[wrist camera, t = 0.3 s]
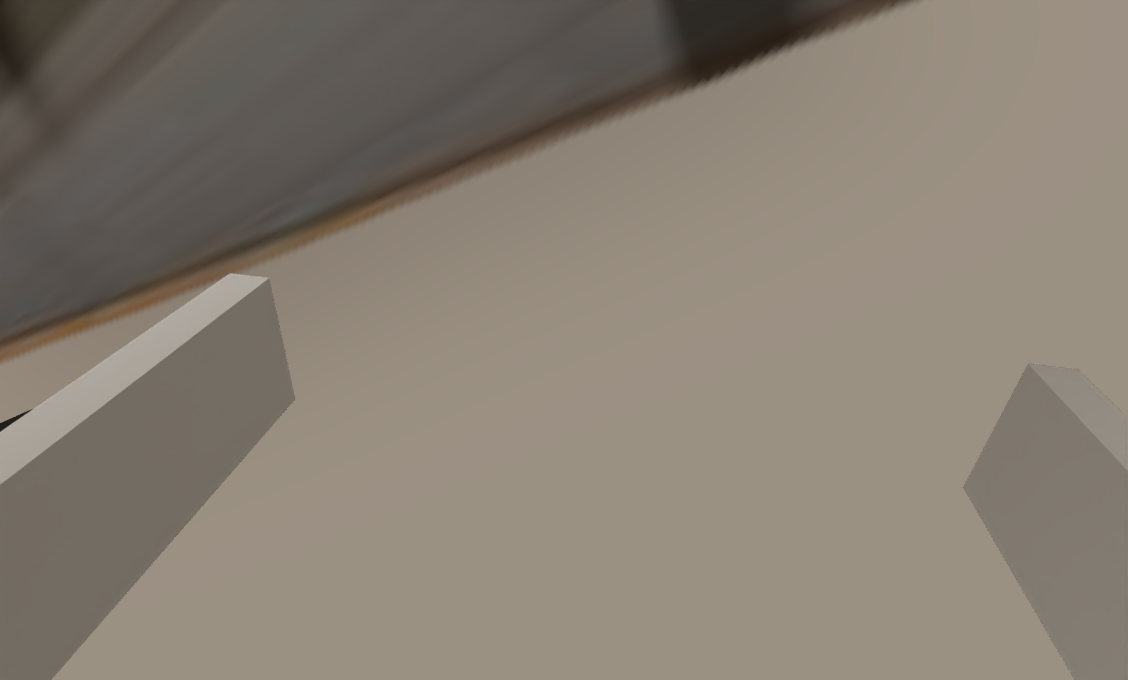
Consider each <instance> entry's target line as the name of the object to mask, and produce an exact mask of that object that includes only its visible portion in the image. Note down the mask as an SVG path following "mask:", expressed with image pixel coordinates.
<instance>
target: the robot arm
mask: <svg viewBox="0 0 1128 680" xmlns="http://www.w3.org/2000/svg"><path fill="white" fill-rule="evenodd" d="M294 400H295V396H294V391H293V387H292V382H291V377H290V373H289V368H288V363H287V359H286V354H285V349H284V345H283V340H282V335H281V331H280V326H279V321H278V317H277V313H276V308H275V303H274V298H273V293H272V289H271V284H270V279H269V278H265V277H257V276H248V275H239V274H228V275H227V276H226V277H224V278H223V279H221V280H220V281H218V282H217V283H215V284H214V285H213V286H211V287H210V288H208V289H207V290H205V291H204V292H202V293H201V294H199V295H198V296H197V297H195V298H194V299H192V300H191V301H189V302H188V303H186V304H185V305H184V306H182V307H181V308H179V309H178V310H176V311H175V312H173V313H172V314H171V315H169V316H168V317H166V318H165V319H163V320H162V321H160V322H159V323H157V324H156V325H155V326H153V327H152V328H150V329H149V330H147V331H146V332H144V333H143V334H142V335H140V336H139V337H137V338H136V339H134V340H133V341H131V342H130V343H128V344H127V345H125V346H124V347H123V348H121V349H120V350H118V351H117V352H115V353H114V354H112V355H111V356H110V357H108V358H107V359H105V360H104V361H102V362H101V363H99V364H98V365H97V366H95V367H94V368H92V369H91V370H89V371H88V372H86V373H85V374H84V375H82V376H81V377H79V378H78V379H76V380H75V381H73V382H72V383H70V384H69V385H67V386H66V387H65V388H63V389H62V390H60V391H59V392H58V393H56V394H55V395H53V396H51V397H50V398H49V399H47V400H46V401H44V402H43V403H41V404H40V405H38V406H37V407H36V408H34V409H31V410H29V411H27V412H25V413H22V414H20V415H18V416H16V417H13V418H11V419H9V420H7V421H4V422H2V423H0V680H51V679H52V678H53V677H54V676H55V675H56V674H57V672H58V671H59V670H60V669H61V668H62V667H63V666H64V665H65V663H66V662H67V661H68V660H69V659H70V658H71V656H72V655H73V654H74V653H75V652H76V651H77V649H78V648H79V647H80V646H81V645H82V644H83V643H84V641H85V640H86V639H87V638H88V637H89V636H90V634H91V633H92V632H93V631H94V630H95V629H96V628H97V627H98V625H99V624H100V623H101V622H102V621H103V620H104V618H105V617H106V616H107V615H108V614H109V612H111V610H112V609H113V608H114V607H115V606H116V605H117V604H118V602H119V601H120V600H121V599H122V598H123V597H124V595H125V594H126V593H127V592H128V591H129V590H130V589H131V587H132V586H133V585H134V584H135V583H136V582H137V581H138V579H139V578H140V577H141V576H142V575H143V574H144V573H145V571H146V570H147V569H148V568H149V567H150V566H151V564H152V563H153V562H154V561H155V560H156V559H157V558H158V556H159V555H160V554H161V553H162V552H163V551H164V550H165V548H166V547H167V546H168V545H169V544H170V543H171V541H172V540H173V539H174V538H175V537H176V536H177V535H178V533H179V532H180V531H181V530H182V529H183V528H184V526H185V525H186V524H187V523H188V522H189V521H190V520H191V518H192V517H193V516H194V515H195V514H196V513H197V511H198V510H199V509H200V508H201V507H202V506H203V505H204V504H205V502H206V501H207V500H208V499H209V498H210V497H211V495H212V494H213V493H214V492H215V491H216V490H217V489H218V487H219V486H220V485H221V484H222V483H223V482H224V481H225V479H226V478H227V477H228V476H229V475H230V474H231V472H232V471H233V470H234V469H235V468H236V467H237V466H238V464H239V463H240V462H241V461H242V460H243V459H244V457H245V456H246V455H247V454H248V453H249V452H250V451H251V449H252V448H253V447H254V446H255V445H256V444H257V443H258V441H259V440H260V439H261V438H262V437H263V435H265V433H266V432H267V431H268V430H269V428H270V427H271V426H272V425H273V424H274V423H275V422H276V421H277V419H278V418H279V417H280V416H281V415H282V413H284V411H285V410H286V409H287V408H288V407H289V405H291V403H292V402H293V401H294ZM964 490H965V491H966V493H967V495H968V497H969V498H970V500H971V502H972V503H973V505H974V507H975V509H976V510H977V512H978V514H979V516H980V517H981V519H982V521H983V522H984V524H985V526H986V528H987V529H988V531H989V533H990V534H991V536H992V538H993V540H994V542H995V543H996V545H997V547H998V548H999V550H1000V552H1001V554H1002V555H1003V557H1004V559H1005V561H1006V562H1007V564H1008V566H1009V567H1010V569H1011V571H1012V573H1013V574H1014V576H1015V578H1016V580H1017V581H1018V583H1019V585H1020V586H1021V588H1022V590H1023V591H1024V593H1025V595H1026V597H1027V598H1028V600H1029V602H1030V603H1031V605H1032V607H1033V609H1034V611H1035V612H1036V614H1037V616H1038V617H1039V619H1040V621H1041V623H1042V624H1043V626H1044V628H1045V630H1046V631H1047V633H1048V635H1049V637H1050V638H1051V640H1052V642H1053V643H1054V645H1055V647H1056V648H1057V650H1058V652H1059V654H1060V655H1061V657H1062V659H1063V661H1064V662H1065V664H1066V666H1067V668H1068V669H1069V671H1070V673H1071V675H1072V676H1073V678H1074V680H1128V417H1127V416H1126V415H1125V414H1124V413H1123V412H1122V411H1121V410H1120V409H1119V408H1118V407H1117V406H1116V405H1115V404H1114V403H1113V402H1112V401H1111V400H1110V399H1108V398H1107V397H1106V396H1105V395H1104V394H1103V393H1102V392H1101V391H1100V390H1099V389H1098V388H1097V387H1096V386H1095V385H1094V384H1093V383H1092V382H1091V381H1090V380H1089V379H1088V378H1087V377H1086V376H1084V374H1082V373H1081V372H1080V371H1079V370H1078V369H1069V368H1061V367H1052V366H1044V365H1035V364H1028V365H1027V367H1026V369H1025V371H1024V373H1023V375H1022V376H1021V378H1020V380H1019V382H1018V384H1017V386H1016V388H1015V390H1014V392H1013V394H1012V395H1011V397H1010V399H1009V401H1008V403H1007V405H1006V407H1005V409H1004V411H1003V413H1002V414H1001V416H1000V418H999V420H998V422H997V424H996V426H995V428H994V430H993V432H992V434H991V435H990V437H989V439H988V441H987V443H986V445H985V447H984V449H983V451H982V452H981V454H980V457H979V458H978V460H977V462H976V464H975V466H974V468H973V470H972V471H971V474H970V475H969V477H968V479H967V481H966V483H965V485H964Z"/></svg>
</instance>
